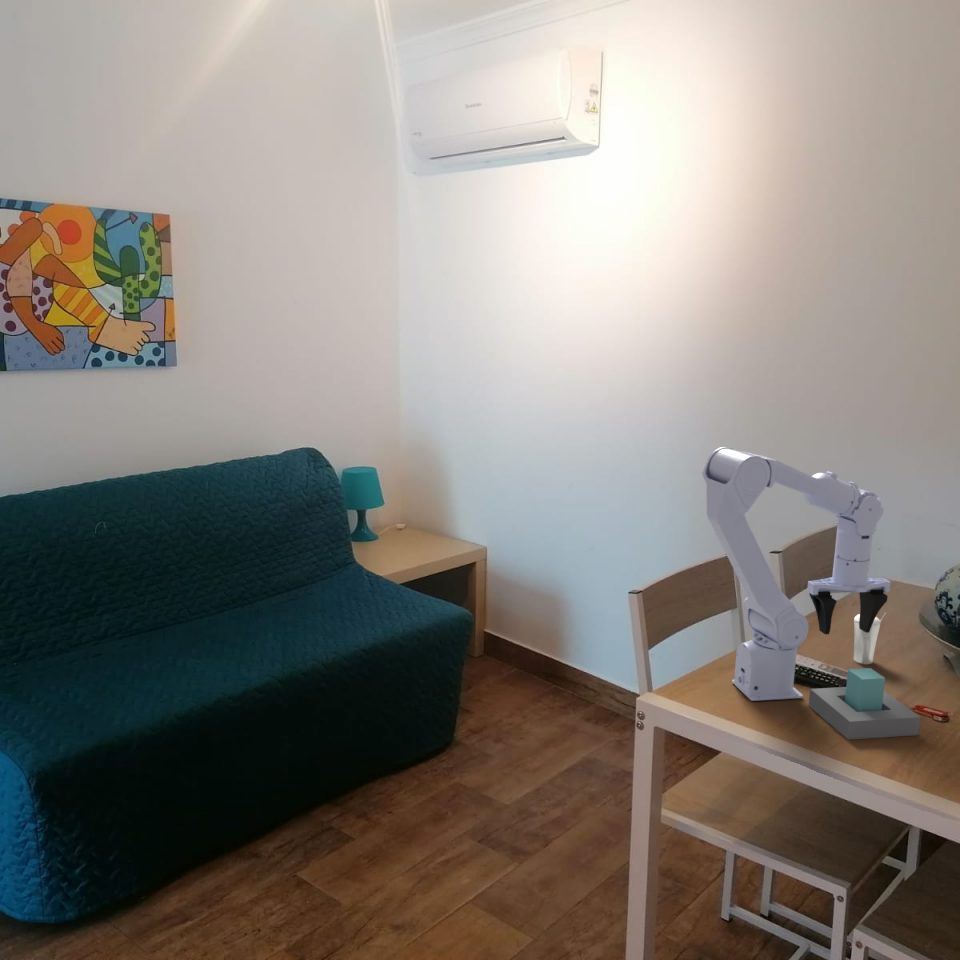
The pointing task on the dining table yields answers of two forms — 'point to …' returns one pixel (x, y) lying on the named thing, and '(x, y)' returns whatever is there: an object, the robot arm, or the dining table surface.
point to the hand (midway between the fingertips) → (844, 631)
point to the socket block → (863, 716)
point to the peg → (864, 690)
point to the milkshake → (865, 641)
